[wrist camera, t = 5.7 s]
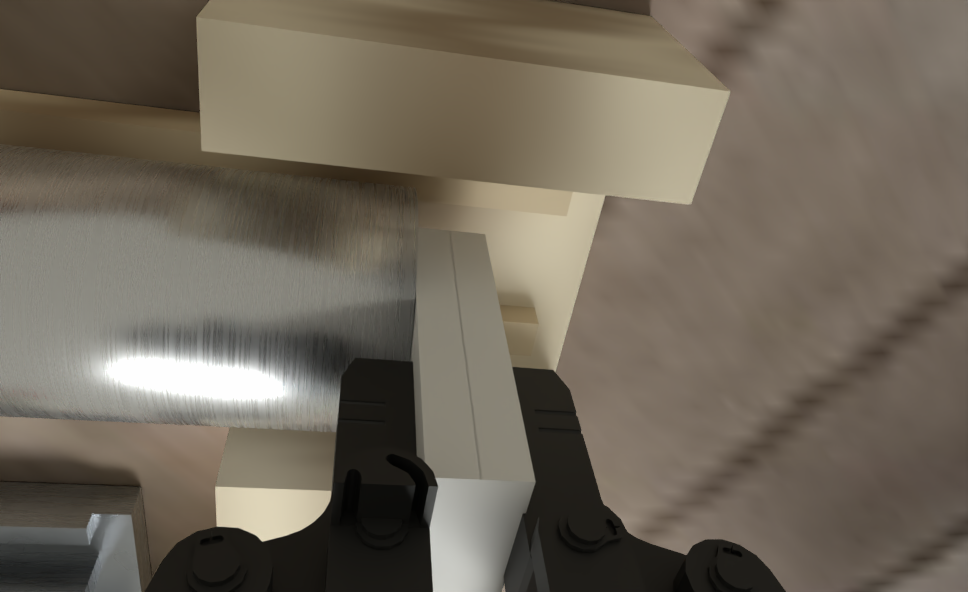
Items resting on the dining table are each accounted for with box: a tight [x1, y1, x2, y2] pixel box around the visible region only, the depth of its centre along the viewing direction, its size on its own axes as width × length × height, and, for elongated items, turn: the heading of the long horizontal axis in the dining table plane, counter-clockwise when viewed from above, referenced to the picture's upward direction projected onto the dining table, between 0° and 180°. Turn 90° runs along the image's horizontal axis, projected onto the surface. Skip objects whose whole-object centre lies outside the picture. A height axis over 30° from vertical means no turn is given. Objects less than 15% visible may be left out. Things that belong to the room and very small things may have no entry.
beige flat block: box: [0, 0, 731, 542], centre depth 15 cm, size 22×12×4 cm, turn 81°
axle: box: [0, 144, 418, 432], centre depth 15 cm, size 11×5×5 cm, turn 81°
